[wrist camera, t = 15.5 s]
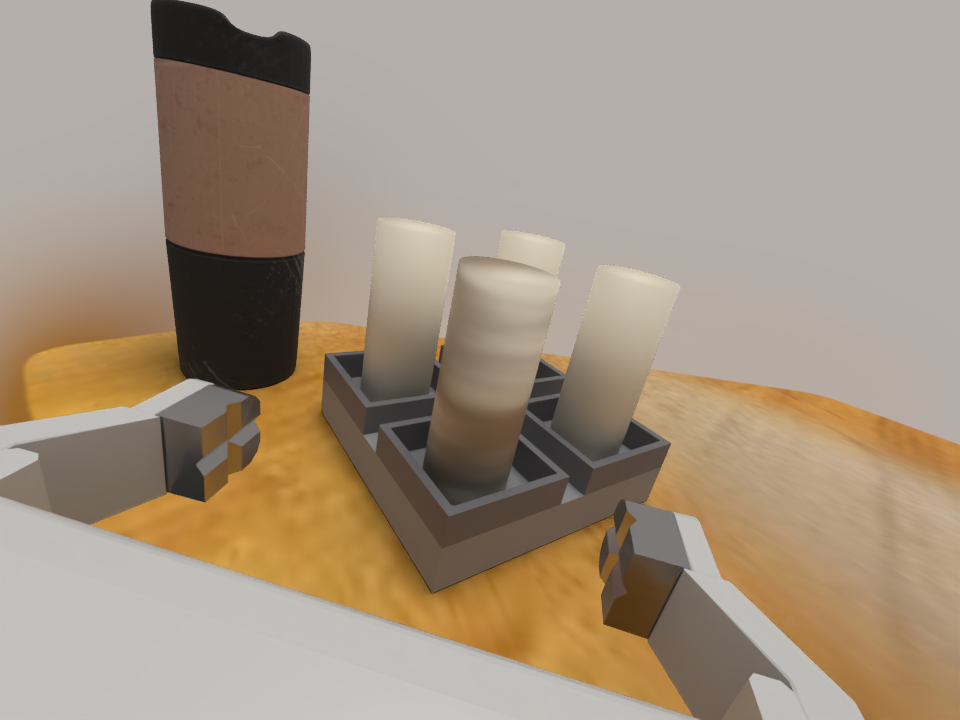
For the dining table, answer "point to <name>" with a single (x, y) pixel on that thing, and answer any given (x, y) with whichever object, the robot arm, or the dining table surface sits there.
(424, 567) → the pillar candle tray
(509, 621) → the dining table surface
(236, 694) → the robot arm
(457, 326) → the cream pillar candle
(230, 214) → the travel mug
